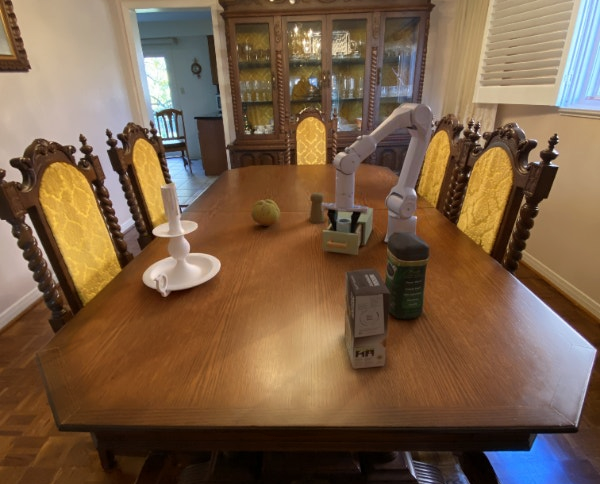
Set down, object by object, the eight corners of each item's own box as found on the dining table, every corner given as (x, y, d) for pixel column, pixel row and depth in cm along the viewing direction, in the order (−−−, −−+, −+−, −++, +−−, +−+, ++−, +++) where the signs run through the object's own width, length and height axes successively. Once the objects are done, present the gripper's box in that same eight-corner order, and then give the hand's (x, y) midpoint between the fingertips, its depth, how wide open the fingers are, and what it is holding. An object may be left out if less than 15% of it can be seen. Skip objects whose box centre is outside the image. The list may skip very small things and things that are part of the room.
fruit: (246, 229, 131) (244, 203, 127) (261, 218, 141) (259, 195, 137) (272, 232, 127) (271, 206, 123) (285, 221, 137) (284, 197, 133)
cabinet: (364, 245, 114) (365, 222, 111) (327, 241, 118) (328, 218, 115) (372, 229, 127) (373, 208, 124) (338, 226, 131) (338, 205, 128)
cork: (323, 223, 134) (323, 196, 130) (308, 222, 135) (307, 195, 131) (325, 217, 140) (325, 191, 136) (311, 217, 141) (310, 191, 137)
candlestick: (120, 309, 84) (92, 200, 74) (164, 261, 107) (148, 173, 97) (202, 311, 83) (185, 200, 72) (229, 262, 106) (219, 172, 95)
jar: (353, 234, 113) (353, 218, 111) (349, 240, 109) (350, 224, 107) (338, 232, 115) (338, 217, 113) (334, 239, 110) (334, 222, 108)
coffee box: (386, 366, 65) (392, 293, 59) (352, 369, 65) (355, 296, 59) (372, 334, 74) (376, 267, 68) (342, 336, 73) (344, 270, 67)
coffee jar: (427, 319, 78) (437, 244, 71) (393, 322, 77) (400, 247, 70) (409, 295, 87) (416, 227, 80) (378, 298, 86) (383, 229, 79)
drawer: (354, 261, 103) (355, 240, 100) (317, 255, 106) (317, 236, 104) (365, 238, 118) (366, 219, 116) (333, 234, 122) (333, 216, 119)
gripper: (318, 193, 105) (318, 234, 110) (366, 197, 100) (364, 240, 105) (324, 187, 111) (324, 226, 116) (370, 191, 107) (368, 231, 112)
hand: (343, 232), depth 111 cm, fingers closed on jar, 5 cm apart
